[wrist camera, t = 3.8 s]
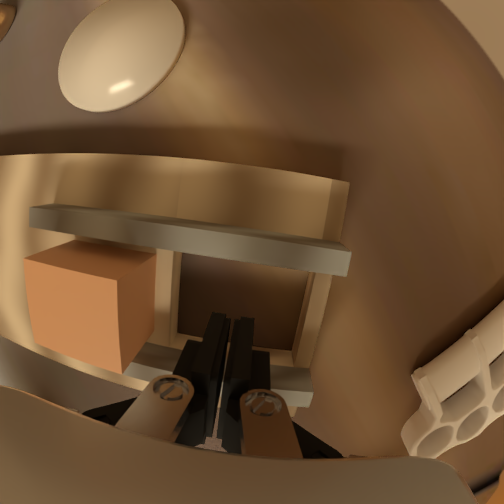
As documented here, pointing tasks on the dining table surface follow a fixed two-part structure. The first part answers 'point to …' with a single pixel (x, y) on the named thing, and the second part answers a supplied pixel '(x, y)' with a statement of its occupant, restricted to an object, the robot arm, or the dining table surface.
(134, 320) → the block
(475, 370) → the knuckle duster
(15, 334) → the board
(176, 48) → the coaster
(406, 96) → the dining table surface
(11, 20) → the beer glass
